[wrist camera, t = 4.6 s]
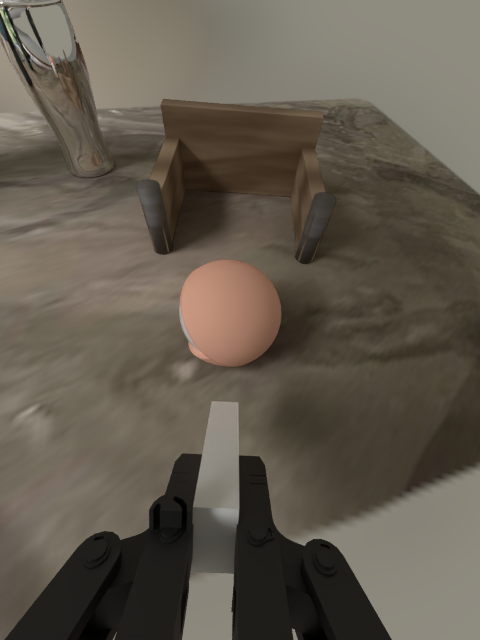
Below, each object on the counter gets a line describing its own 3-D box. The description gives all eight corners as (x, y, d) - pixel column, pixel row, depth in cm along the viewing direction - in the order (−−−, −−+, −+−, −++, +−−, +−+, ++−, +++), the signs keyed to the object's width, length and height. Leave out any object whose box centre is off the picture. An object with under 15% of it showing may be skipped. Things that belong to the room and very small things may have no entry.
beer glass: (79, 150, 38) (8, -15, 26) (125, 156, 38) (77, -7, 25) (54, 176, 35) (-43, -3, 22) (105, 183, 34) (37, 7, 22)
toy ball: (201, 294, 26) (193, 226, 19) (279, 312, 25) (299, 249, 18) (169, 369, 21) (144, 315, 15) (262, 393, 21) (281, 349, 14)
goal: (314, 264, 28) (347, 183, 21) (152, 253, 28) (126, 167, 20) (302, 191, 36) (324, 112, 28) (174, 181, 35) (161, 98, 28)
